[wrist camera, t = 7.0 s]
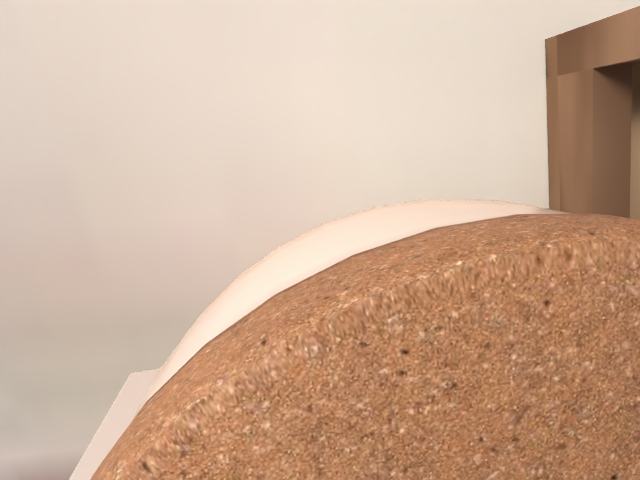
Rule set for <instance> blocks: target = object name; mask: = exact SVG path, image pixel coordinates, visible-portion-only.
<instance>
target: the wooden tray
mask: <svg viewBox="0 0 640 480" xmlns="http://www.w3.org/2000/svg"><path fill="white" fill-rule="evenodd" d="M545 49H546V89H547V128H548V167H549V207H550V209H552V210H557V211H562V212H568V213H573V214H603V215H612V216H618V217H624V218H630V219H636V220H640V6H638V7H636V8H633V9H630V10H627V11H624V12H622V13H619V14H616V15H613V16H610V17H607V18H605V19H602V20H599V21H596V22H593V23H590V24H588V25H585V26H582V27H579V28H576V29H574V30H571V31H568V32H565V33H562V34H559V35H557V36H554V37H551V38H548V39H545Z"/></svg>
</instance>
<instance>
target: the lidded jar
mask: <svg viewBox="0 0 640 480" xmlns="http://www.w3.org/2000/svg"><path fill="white" fill-rule="evenodd" d="M90 480H640V220H636V219H630V218H624V217H618V216H612V215H603V214H573V213H568V212H562V211H557V210H552V209H546V208H540V207H534V206H528V205H522V204H516V203H510V202H504V201H498V200H416V201H410V202H404V203H398V204H391V205H385V206H379V207H373V208H370V209H367V210H363V211H360V212H357V213H354V214H351V215H348V216H345V217H342V218H339V219H336V220H333V221H330V222H327V223H324V224H322V225H320V226H318V227H316V228H314V229H312V230H310V231H308V232H306V233H304V234H302V235H301V236H299V237H297V238H295V239H293V240H291V241H289V242H287V243H285V244H283V245H281V246H279V247H278V248H277V249H275V250H274V251H272V252H271V253H270V254H268V255H267V256H265V257H264V258H263V259H261V260H260V261H258V262H257V263H256V264H254V265H253V266H252V267H250V268H249V269H247V270H246V271H245V272H243V273H242V274H240V275H239V276H238V277H237V278H236V279H235V280H234V281H233V282H232V283H231V284H230V285H229V286H228V287H227V288H226V289H225V290H224V291H223V292H222V293H221V294H220V295H219V296H218V297H217V298H216V299H215V300H214V301H213V302H212V303H211V304H210V305H209V306H208V307H207V308H206V309H205V311H204V312H203V313H202V314H201V315H200V317H199V318H198V319H197V320H196V322H195V323H194V324H193V325H192V327H191V328H190V329H189V331H188V332H187V333H186V335H185V336H184V337H183V339H182V340H181V341H180V343H179V344H178V346H177V347H176V348H175V350H174V351H173V352H172V354H171V355H170V357H169V358H168V359H167V361H166V362H165V363H164V365H163V366H162V367H161V369H160V370H159V372H158V373H157V375H156V377H155V379H154V380H153V382H152V384H151V386H150V388H149V389H148V391H147V393H146V395H145V396H144V398H143V400H142V402H141V404H140V405H139V407H138V409H137V411H136V413H135V415H134V417H133V419H132V421H131V423H130V424H129V426H128V427H127V429H126V430H125V431H124V433H123V434H122V435H121V437H120V438H119V439H118V441H117V442H116V444H115V445H114V446H113V448H112V449H111V450H110V452H109V453H108V454H107V456H106V457H105V459H104V460H103V461H102V463H101V464H100V465H99V467H98V468H97V470H96V471H95V473H94V474H93V476H92V477H91V479H90Z"/></svg>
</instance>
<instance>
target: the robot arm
mask: <svg viewBox="0 0 640 480" xmlns="http://www.w3.org/2000/svg"><path fill="white" fill-rule="evenodd" d="M160 369H161V368H158V369H153V370H147V371H141V372H136V373H130V375H129V377H128V378H127V380H126V382H125V384H124V385H123V387H122V389H121V391H120V392H119V394H118V396H117V397H116V399H115V401H114V403H113V404H112V406H111V408H110V410H109V411H108V413H107V415H106V416H105V418H104V420H103V422H102V423H101V425H100V427H99V428H98V430H97V432H96V434H95V435H94V437H93V439H92V441H91V442H90V444H89V446H88V447H87V449H86V451H85V453H84V454H83V456H82V458H81V460H80V461H79V463H78V465H77V466H76V468H75V470H74V472H73V473H72V475H71V477H70V479H69V480H90V479H91V477H92V476H93V474H94V473H95V471H96V470H97V468H98V467H99V465H100V464H101V463H102V461H103V460H104V459H105V457H106V456H107V454H108V453H109V452H110V450H111V449H112V448H113V446H114V445H115V444H116V442H117V441H118V439H119V438H120V437H121V435H122V434H123V433H124V431H125V430H126V429H127V427H128V426H129V424H130V423H131V421H132V419H133V417H134V415H135V413H136V411H137V409H138V407H139V405H140V404H141V402H142V400H143V398H144V396H145V395H146V393H147V391H148V389H149V388H150V386H151V384H152V382H153V380H154V379H155V377H156V375H157V373H158V372H159V370H160Z"/></svg>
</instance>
